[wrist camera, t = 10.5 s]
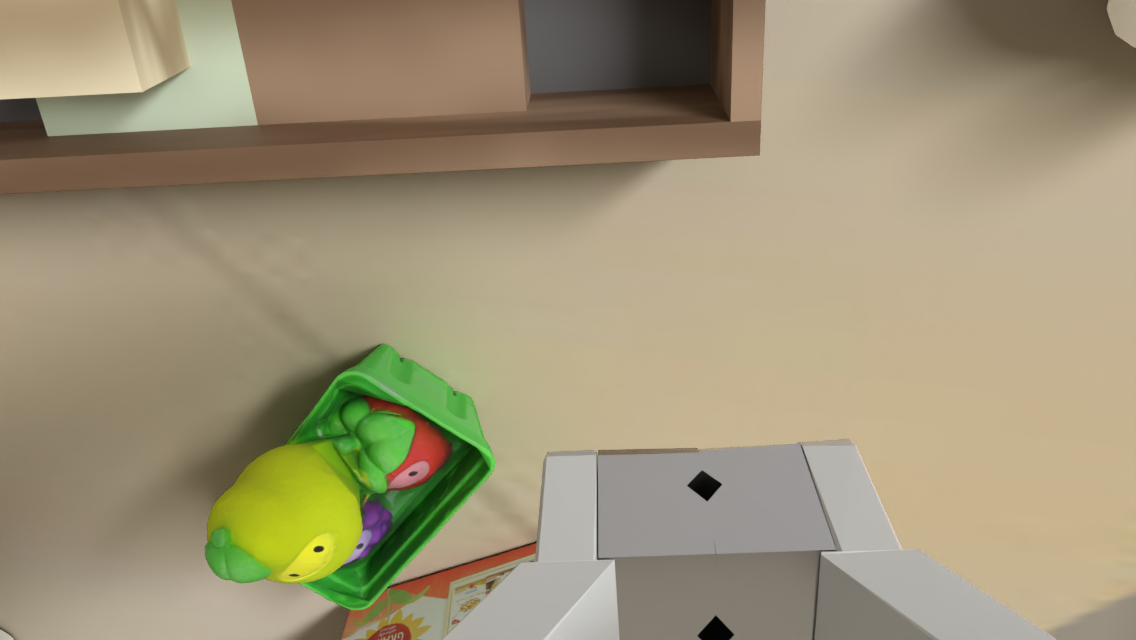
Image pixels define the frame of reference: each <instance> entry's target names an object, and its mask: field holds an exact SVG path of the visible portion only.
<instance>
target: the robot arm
mask: <svg viewBox="0 0 1136 640" xmlns="http://www.w3.org/2000/svg"><path fill="white" fill-rule="evenodd" d="M0 640H14V639H13V638H12V637H11V636H10V635H9V634H7V633H6V632H4V631H2V630H0ZM442 640H1057V639H1055V638H1054V637H1052V636H1051V635H1049V634H1048V633H1046V632H1045V631H1043V630H1042V629H1040V628H1039V627H1037V626H1035V625H1034V624H1032V623H1031V622H1029V621H1028V620H1026V619H1025V618H1023V617H1022V616H1020V615H1019V614H1017V613H1016V612H1014V611H1013V610H1011V609H1009V608H1008V607H1006V606H1005V605H1003V604H1002V603H1000V602H999V601H997V600H996V599H994V598H993V597H991V596H990V595H988V594H987V593H985V592H983V591H982V590H980V589H979V588H977V587H976V586H974V585H973V584H971V583H970V582H968V581H967V580H965V579H964V578H962V577H961V576H959V575H957V574H956V573H954V572H953V571H951V570H950V569H948V568H947V567H945V566H944V565H942V564H941V563H939V562H938V561H936V560H935V559H933V558H931V557H930V556H928V555H927V554H925V553H924V552H922V551H921V550H919V549H902V547H901V545H900V543H899V541H898V539H897V536H896V534H895V532H894V530H893V527H892V525H891V523H890V521H889V518H888V516H887V514H886V512H885V509H884V507H883V505H882V503H881V500H880V498H879V496H878V494H877V491H876V489H875V487H874V485H873V482H872V480H871V478H870V476H869V473H868V471H867V469H866V467H865V464H864V462H863V460H862V458H861V456H860V453H859V451H858V449H857V447H856V444H855V443H853V442H852V441H851V440H849V439H840V440H826V441H812V442H799V443H797V444H786V445H767V446H748V447H729V448H710V449H697V448H675V449H626V450H598V455H597V452H596V451H595V450H585V451H561V452H547V454H546V456H545V459H544V463H543V474H542V486H541V497H540V509H539V520H538V532H537V543H536V554H535V562H526V563H519V564H518V565H517V566H516V567H515V568H514V569H513V570H512V571H511V572H510V573H509V574H508V575H507V576H506V577H505V578H504V579H503V580H502V581H501V582H500V583H499V584H498V585H497V586H496V587H495V588H494V589H493V590H492V591H491V592H490V593H489V594H488V595H487V596H486V597H485V598H484V599H483V600H482V601H481V602H480V603H479V604H478V605H477V606H476V607H474V608H473V609H472V610H471V611H470V612H469V613H468V614H467V615H466V616H465V617H464V618H463V619H462V620H461V621H460V622H459V623H458V624H457V625H456V626H455V627H454V628H453V629H452V630H451V631H450V632H449V633H448V634H447V635H446V636H445V637H444V638H443V639H442Z"/></svg>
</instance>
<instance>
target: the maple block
mask: <svg viewBox="0 0 1136 640" xmlns="http://www.w3.org/2000/svg"><path fill="white" fill-rule="evenodd" d="M189 67H191V66H190V62H189V57H188V53H187V49H186V45H185V41H184V36H183V32H182V28H181V24H180V20H179V15H178V11H177V7H176V3H175V0H0V100H1V99H20V98H39V97H59V96H78V95H97V94H117V93H136V92H144V91H145V90H147V89H149V88H151V87H153V86H155V85H157V84H159V83H161V82H163V81H165V80H166V79H168V78H170V77H172V76H174V75H176V74H178V73H180V72H182V71H184V70H185V69H187V68H189Z"/></svg>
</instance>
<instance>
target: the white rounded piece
mask: <svg viewBox="0 0 1136 640" xmlns="http://www.w3.org/2000/svg"><path fill="white" fill-rule="evenodd" d="M1107 12H1108V16H1109V18H1110V21H1111V24H1112V27H1113V30H1114V33H1115V35H1116V36H1118V37H1119V38H1121V39H1122V40H1124V41H1125V42H1127V43H1128V44H1130V45H1131V46H1132V47H1134V48H1136V0H1109V1H1108V5H1107Z"/></svg>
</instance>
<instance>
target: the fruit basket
mask: <svg viewBox="0 0 1136 640" xmlns="http://www.w3.org/2000/svg"><path fill="white" fill-rule="evenodd" d="M494 468H495V459H494V456H493V454H492V452H491V449H490V447H489V445H488V443H487V442H486V440H485V439H484V436H483V432H482V429H481V426H480V422H479V419H478V415H477V412H476V409H475V405H474V402H473V400H472V398H470V397H469V396H467V395H465V394H462V393H459V392H453V389H452V388H451V387H450V386H449V385H448V384H447V383H446V382H445V381H443V380H442V379H440V378H439V377H437V376H436V375H434V374H432V373H431V372H429V371H428V370H426V369H425V368H423V367H421V366H420V365H418V364H417V363H415V362H413V361H411V360H407V359H405V358H402V359H401V358H400V355H399V354H398V353H396V351H395V350H394V349H393V348H392V347H390V346H389V345H386V344H381V345H379V346H378V347H377V348H376V349H375V350H373V351H372V352H371V353H370V354H369V355H368V356H366V357H365V358H364V359H363V360H362V361H361V362H359V363H358V364H357V365H356V366H354V367H351V368H349V369H347V370H345V371H344V372H342V373H341V374H340V375H338V376H337V377H336V378H335V379H334V381H333V382H332V383H331V385H330V386H329V387H328V389H327V390H326V391H325V393H324V394H323V396H322V397H321V398H320V400H319V401H318V402H317V404H316V405H315V406H314V408H313V409H312V410H311V411H310V413H309V414H308V415H307V417H306V418H305V419H304V421H303V422H302V423H301V425H300V426H299V427H298V428H297V430H296V431H295V432H294V434H293V435H292V436H291V438H290V439H289V440H288V442H287V443H286V444H285V445H284V446H280V447H277V448H274V449H272V450H270V451H268V452H266V453H264V454H262V455H260V456H259V457H257V458H256V459H255V460H254V461H252V462H251V463H250V464H249V465H248V466H247V467H246V468H245V470H244V471H243V472H242V473H241V475H240V476H239V477H238V479H237V480H236V482H235V484H234V485H233V486H232V487H230V488H229V489H228V490H227V491H226V492H225V493H224V494H223V495H221V497H220V498H219V499H218V500H217V501H216V502H215V504H214V506H213V507H212V509H211V512H210V515H209V519H208V524H207V539H208V543H207V544H206V546H205V556H206V560H207V562H208V564H209V566H210V568H211V569H212V571H213V572H214V573H215V574H216V575H217V576H218V577H220V578H222V579H224V580H232V581H235V582H238V583H250V582H254V581H259V580H262V579H264V578H265V579H267V580H270V581H275V582H281V583H299V584H301V585H303V586H305V587H307V588H309V589H311V590H312V591H314V592H316V593H318V594H320V595H321V596H323V597H325V598H326V599H327V600H329V601H333V602H335V603H336V604H339V605H341V606H343V607H345V608H348V609H350V610H363V609H366V608H368V607H370V606H371V605H372V604H373V603H374V602H375V601H376V600H377V599H378V597H379V596H380V595H381V594H382V593H383V592H384V591H385V590H386V588H387V587H388V586H389V585H390V584H391V583H392V582H393V581H394V580H395V579H396V577H397V576H398V575H399V574H400V573H401V571H402V570H403V569H404V568H405V567H406V566H407V565H408V564H409V563H410V562H411V561H412V560H413V558H414V557H415V556H416V555H417V554H418V553H419V552H420V551H421V550H422V549H423V548H424V547H425V545H426V544H427V543H428V542H429V541H430V540H431V539H432V538H433V537H434V536H435V535H436V534H437V533H438V532H439V530H440V529H441V528H442V527H443V526H444V525H445V524H446V522H447V521H448V520H449V519H450V518H451V517H452V516H453V515H454V514H455V512H456V511H457V510H458V509H459V508H460V507H461V506H462V505H463V504H464V503H465V502H466V501H467V500H468V498H469V497H470V496H471V495H472V494H473V493H474V492H475V491H476V490H477V489H478V488H479V487H480V486H481V485H482V484H483V482H484V481H485V480H486V479H487V478H488V477H489V476H490V475H491V474H492V472H493V470H494Z"/></svg>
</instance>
